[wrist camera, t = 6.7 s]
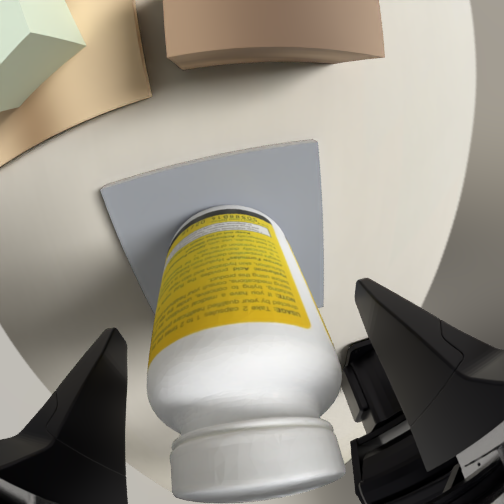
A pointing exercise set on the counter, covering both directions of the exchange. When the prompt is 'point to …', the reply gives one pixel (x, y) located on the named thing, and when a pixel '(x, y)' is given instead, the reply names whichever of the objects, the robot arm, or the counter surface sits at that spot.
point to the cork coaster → (83, 78)
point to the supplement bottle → (242, 364)
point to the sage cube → (33, 46)
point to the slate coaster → (217, 194)
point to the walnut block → (271, 31)
